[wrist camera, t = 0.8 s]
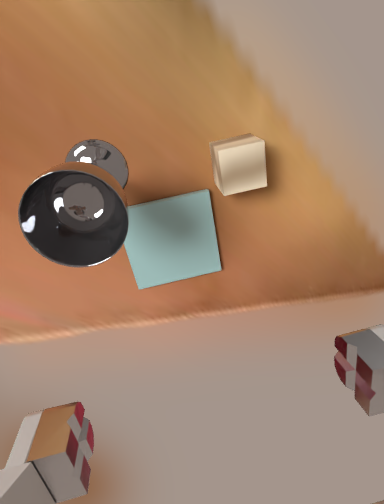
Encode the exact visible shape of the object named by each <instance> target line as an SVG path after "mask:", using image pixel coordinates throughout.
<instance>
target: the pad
mask: <svg viewBox="0 0 384 504" xmlns="http://www.w3.org/2000/svg"><path fill="white" fill-rule="evenodd" d="M128 209H129V226H128V233H127V236H126V239H125V241H124V245H125V248H126V252H127V255H128V258H129V261H130V264H131V267H132V270H133V273H134V276H135V279H136V282H137V285H138V288H139V289H144V288H148V287H152V286H156V285H161V284H165V283H169V282H173V281H178V280H182V279H186V278H190V277H195V276H199V275H203V274H207V273H212V272H216V271H220V270H221V264H220V258H219V252H218V245H217V239H216V232H215V226H214V220H213V213H212V207H211V200H210V194H209V190H208V189H204V190H200V191H195V192H191V193H187V194H182V195H178V196H173V197H169V198H164V199H160V200H155V201H151V202H146V203H142V204H137V205H133V206H128Z"/></svg>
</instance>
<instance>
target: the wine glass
mask: <svg viewBox="0 0 384 504" xmlns="http://www.w3.org/2000/svg"><path fill="white" fill-rule="evenodd" d="M127 179H128V167H127V163H126V161H125V158H124V157H123V155H122V154H121V152H120V151H119V150H118V149H117V148H115V147H114V146H113V145H111V144H109V143H108V142H105V141H102V140H97V139H90V140H85V141H82V142H79V143H78V144H76V145H75V146H74V147H73V148H72V149H71V150H70V151H69V153H68V155H67V157H66V160H65V163H62V164H59V165H56V166H54V167H51V168H50V169H48V170H46V171H45V172H43V173H42V174H41V175H40V176H38V177H37V178H36V179H35V180H34V181H33V182H32V183H31V184H30V185H29V187H28V188H27V190H26V191H25V192H24V194H23V196H22V198H21V201H20V204H19V210H18V217H19V224H20V228H21V230H22V232H23V235H24V237H25V238H26V240H27V241H28V243H29V244H30V245H31V246H32V247H33V248H34V249H35V250H36V251H37V252H38V253H39V254H41V255H42V256H43V257H45V258H47V259H48V260H50V261H52V262H55V263H57V264H60V265H64V266H69V267H89V266H94V265H97V264H100V263H103V262H104V261H106V260H108V259H110V258H111V257H112V256H113V255H115V254H116V253H117V252H118V250H119V249H120V248H121V247H122V245H123V243H124V241H125V239H126V236H127V233H128V226H129V209H128V203H127V199H126V196H125V193H124V191H123V188H124V187H125V185H126V183H127Z"/></svg>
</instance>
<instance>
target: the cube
mask: <svg viewBox="0 0 384 504" xmlns="http://www.w3.org/2000/svg"><path fill="white" fill-rule="evenodd" d="M209 147H210V153H211V160H212V167H213V174H214V181H215V184H216V185H217V187H218V188H219V190H220V191H221V192H222V194H223V195H224V196H226V195H230V194H235V193H239V192H244V191H248V190H252V189H257V188H261V187H266V186H267V176H266V159H265V143H264V140H262V139H260V138H258V137H256V136H254V135H252V134H245V135H241V136H236V137H232V138H227V139H223V140H218V141H213V142H209Z"/></svg>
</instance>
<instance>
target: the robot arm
mask: <svg viewBox="0 0 384 504" xmlns="http://www.w3.org/2000/svg"><path fill="white" fill-rule="evenodd" d="M335 347H336V348H337V350H338V352H337V354H336V355H335V356H334V361H335V368H336V372H337V374H338V376H339V378H340V380H341V381H342V382H343V384H344V385H345V386H346V387H347V388H350V389H352V390H354V391H355V399H356V401H357V402H358V403H359V404H360V406H361V407H362V408H363V410H364V411H365V412H366V413H367V415H368V416H373V415H377V414H381V413H384V325H381V324H380V325H376V326H373V327H369V328H366V329H361V330H358V331H354V332H350V333H346V334H342V335H339V336H336V338H335ZM84 411H85V409H84V407H83V405H82V404H81V402H74V403H70V404H65V405H61V406H57V407H52V408H48V409H45V410H40V411H36V412H32V413H28V414H27V415H26V416H25V417H24V419H23V422H22V425H21V427H20V430H19V432H18V435H17V437H16V441H15V443H14V446H13V448H12V451H11V453H10V456H9V459H8V461H7V464H6V466H5V469H2V470H0V504H56V503H59V502H62V501H66V500H69V499H72V498H76V497H79V496H82V495H85V494H87V493H88V486H89V478H90V472H91V469H90V466H89V464H88V462H87V461H88V460H89V459H90V457H91V456H92V454H93V447H94V434H93V429H92V425H91V423H90V420H88V419H87V418H85V417H83V416H84ZM372 504H384V500H383V501H379V502H376V503H372Z"/></svg>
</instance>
